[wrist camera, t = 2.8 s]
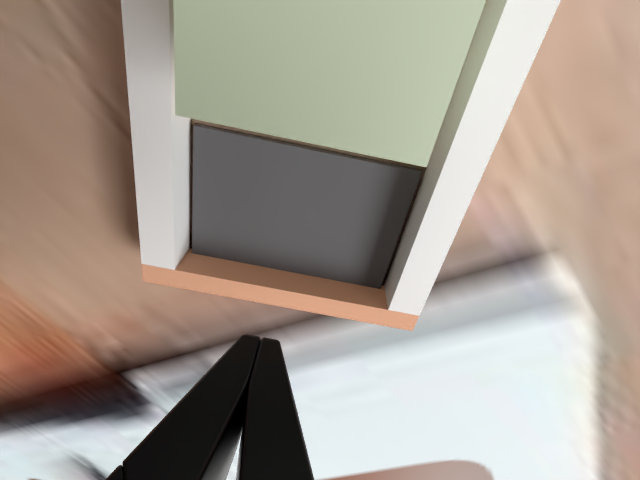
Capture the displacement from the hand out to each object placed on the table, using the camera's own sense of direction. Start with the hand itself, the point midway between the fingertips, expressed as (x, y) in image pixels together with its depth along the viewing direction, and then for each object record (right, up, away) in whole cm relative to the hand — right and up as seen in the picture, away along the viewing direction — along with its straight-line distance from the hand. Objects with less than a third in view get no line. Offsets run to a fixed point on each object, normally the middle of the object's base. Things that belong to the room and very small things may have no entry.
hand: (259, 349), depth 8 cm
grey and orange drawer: (+1, +3, +5) cm, 6 cm away
